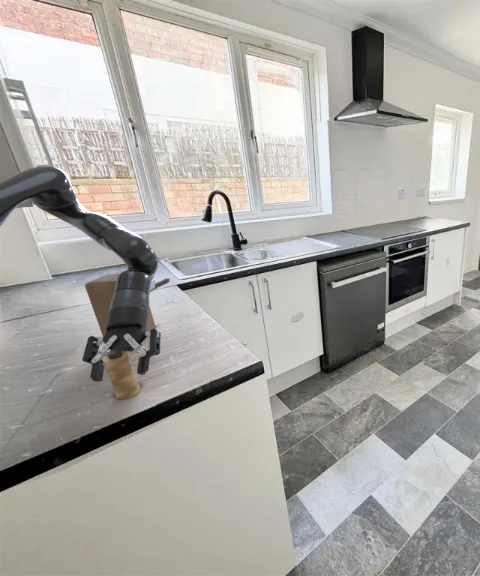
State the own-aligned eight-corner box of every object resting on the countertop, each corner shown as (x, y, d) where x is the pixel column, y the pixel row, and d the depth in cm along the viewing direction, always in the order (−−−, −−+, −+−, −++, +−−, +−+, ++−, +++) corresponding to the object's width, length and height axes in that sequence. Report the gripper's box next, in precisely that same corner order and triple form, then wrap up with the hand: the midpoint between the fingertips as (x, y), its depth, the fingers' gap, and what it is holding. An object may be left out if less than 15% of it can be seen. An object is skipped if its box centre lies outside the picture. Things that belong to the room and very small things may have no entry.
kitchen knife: (165, 274, 153) (118, 294, 125) (167, 274, 153) (121, 294, 125) (167, 282, 155) (121, 303, 126) (169, 282, 155) (124, 303, 126)
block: (104, 345, 94) (81, 283, 87) (125, 330, 103) (106, 273, 96) (140, 342, 95) (121, 281, 88) (157, 328, 104) (141, 271, 98)
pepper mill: (114, 402, 69) (98, 359, 66) (118, 391, 73) (103, 349, 69) (138, 395, 71) (124, 353, 68) (141, 385, 75) (128, 344, 71)
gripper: (168, 313, 81) (162, 375, 74) (104, 320, 78) (92, 386, 71) (155, 302, 74) (147, 369, 68) (84, 308, 71) (68, 380, 64)
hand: (119, 377), depth 69 cm, fingers open, 8 cm apart
